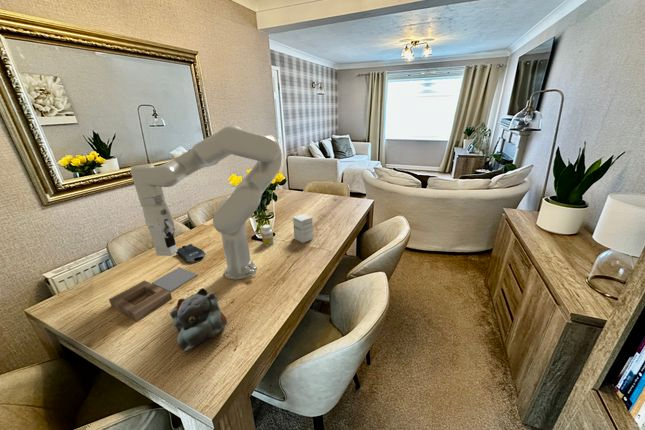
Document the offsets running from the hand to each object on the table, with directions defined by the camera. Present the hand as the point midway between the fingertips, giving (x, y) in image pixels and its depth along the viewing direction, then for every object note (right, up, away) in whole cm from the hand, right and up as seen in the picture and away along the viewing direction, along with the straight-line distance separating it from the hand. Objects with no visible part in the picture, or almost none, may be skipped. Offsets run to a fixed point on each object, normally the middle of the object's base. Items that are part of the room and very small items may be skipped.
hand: (164, 243), depth 97 cm
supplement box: (+50, -2, +37) cm, 63 cm away
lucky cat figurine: (+23, -26, -19) cm, 40 cm away
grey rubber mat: (0, -15, +6) cm, 17 cm away
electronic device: (-2, -9, +23) cm, 25 cm away
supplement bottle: (+32, -4, +33) cm, 47 cm away
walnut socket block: (-4, -20, -6) cm, 22 cm away
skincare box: (0, -4, +2) cm, 5 cm away
